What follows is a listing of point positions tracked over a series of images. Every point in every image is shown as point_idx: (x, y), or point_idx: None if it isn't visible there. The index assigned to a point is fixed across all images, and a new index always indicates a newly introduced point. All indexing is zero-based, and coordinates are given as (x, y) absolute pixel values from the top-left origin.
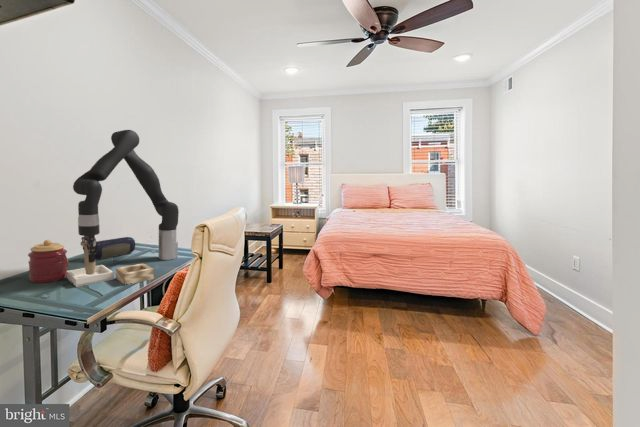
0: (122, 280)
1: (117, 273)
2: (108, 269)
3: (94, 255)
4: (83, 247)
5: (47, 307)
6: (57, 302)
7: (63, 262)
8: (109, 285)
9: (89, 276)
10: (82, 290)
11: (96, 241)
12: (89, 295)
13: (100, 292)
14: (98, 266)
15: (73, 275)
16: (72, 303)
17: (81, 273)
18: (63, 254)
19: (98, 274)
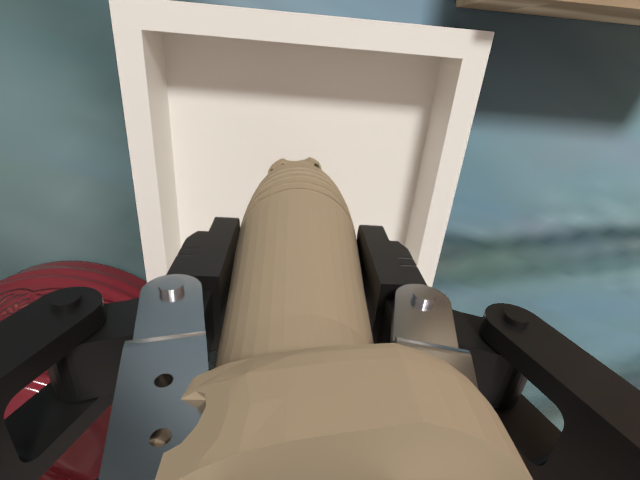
0: (637, 21)
1: (533, 5)
2: (355, 30)
3: (402, 274)
4: (85, 417)
5: (562, 426)
6: (545, 395)
7: None
8: (562, 128)
9: (433, 246)
10: (491, 282)
11: (354, 445)
12: (604, 281)
13: (623, 224)
14: (145, 61)
15: None
16: (621, 361)
17: (175, 207)
18: (59, 475)
19: (440, 175)
